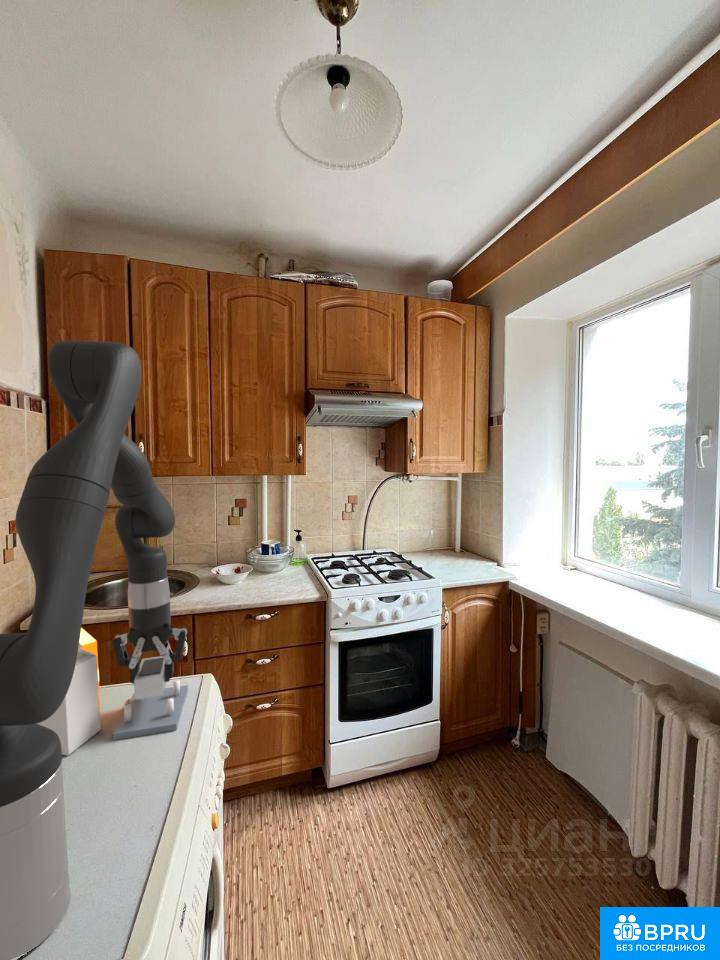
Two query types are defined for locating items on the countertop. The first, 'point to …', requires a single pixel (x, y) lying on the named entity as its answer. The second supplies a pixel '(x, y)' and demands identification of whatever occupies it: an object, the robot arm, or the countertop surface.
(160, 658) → the block
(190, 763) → the countertop surface
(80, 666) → the milk carton
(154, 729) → the grey plate with pegs
